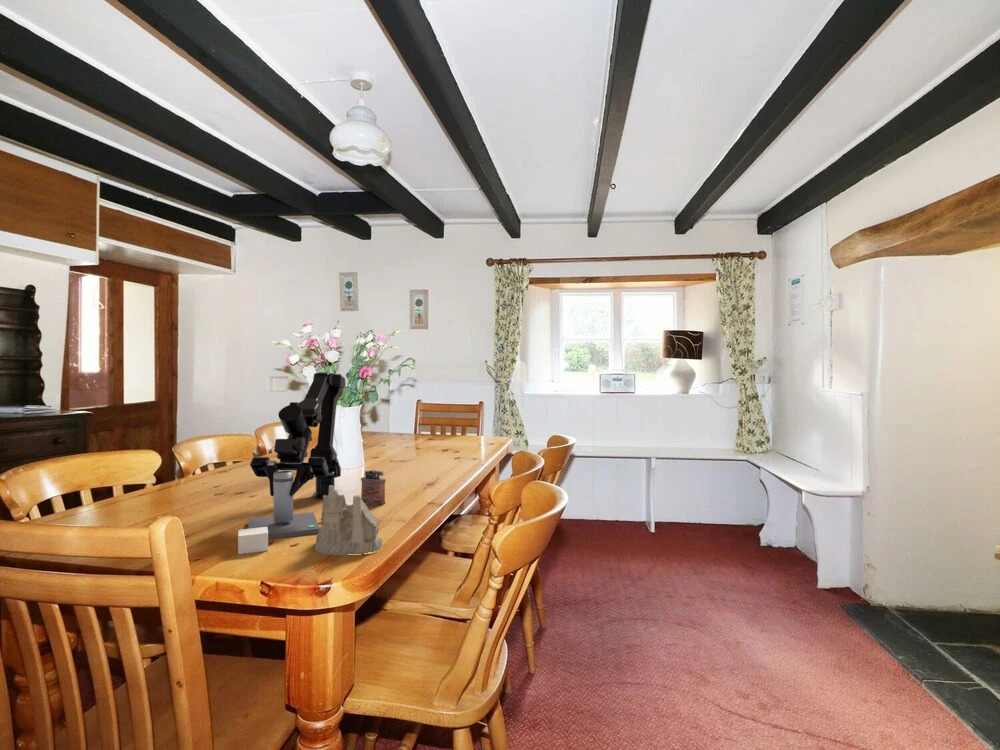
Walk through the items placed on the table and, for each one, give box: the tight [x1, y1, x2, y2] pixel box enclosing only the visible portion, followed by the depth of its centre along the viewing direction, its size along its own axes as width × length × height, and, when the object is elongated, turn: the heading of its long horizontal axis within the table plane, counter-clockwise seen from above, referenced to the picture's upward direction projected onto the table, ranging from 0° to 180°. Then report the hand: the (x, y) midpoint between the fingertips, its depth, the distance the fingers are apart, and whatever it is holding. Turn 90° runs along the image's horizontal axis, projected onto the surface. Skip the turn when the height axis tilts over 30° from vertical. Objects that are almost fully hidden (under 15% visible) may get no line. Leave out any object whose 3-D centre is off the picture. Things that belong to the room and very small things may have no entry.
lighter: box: [360, 469, 387, 506], centre depth 161 cm, size 8×3×10 cm, turn 70°
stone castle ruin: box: [314, 485, 383, 556], centre depth 125 cm, size 16×16×15 cm
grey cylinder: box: [272, 470, 294, 523], centre depth 136 cm, size 5×5×12 cm
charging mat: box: [237, 511, 321, 555], centre depth 132 cm, size 24×18×4 cm
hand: (281, 495), depth 134 cm, fingers closed on grey cylinder, 4 cm apart
